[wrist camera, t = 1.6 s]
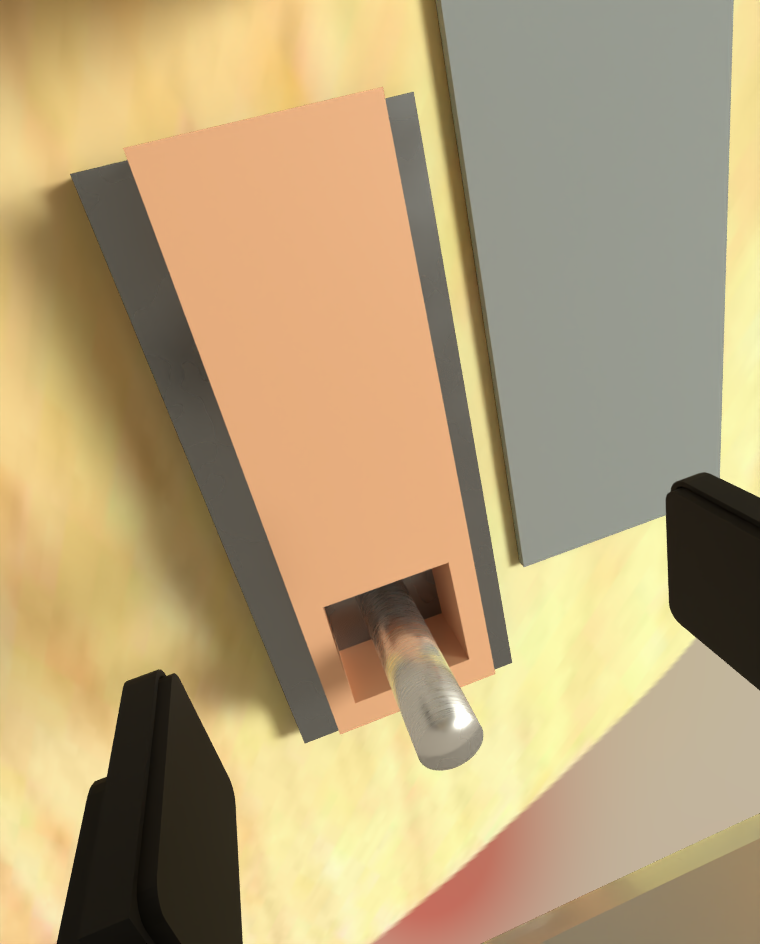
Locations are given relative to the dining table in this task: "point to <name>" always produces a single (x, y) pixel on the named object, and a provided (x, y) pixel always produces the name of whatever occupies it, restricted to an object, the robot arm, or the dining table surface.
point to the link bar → (322, 368)
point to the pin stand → (231, 503)
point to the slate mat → (596, 247)
